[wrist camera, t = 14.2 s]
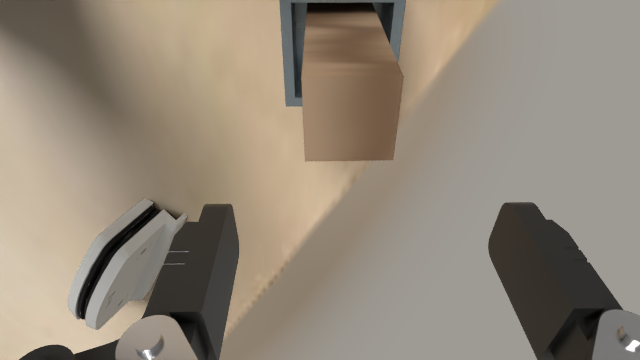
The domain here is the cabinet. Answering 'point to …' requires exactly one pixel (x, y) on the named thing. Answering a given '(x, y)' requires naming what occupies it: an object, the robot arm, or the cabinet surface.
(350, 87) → the rail post
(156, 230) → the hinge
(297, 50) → the cup bracket
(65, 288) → the cabinet surface
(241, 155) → the cabinet surface
